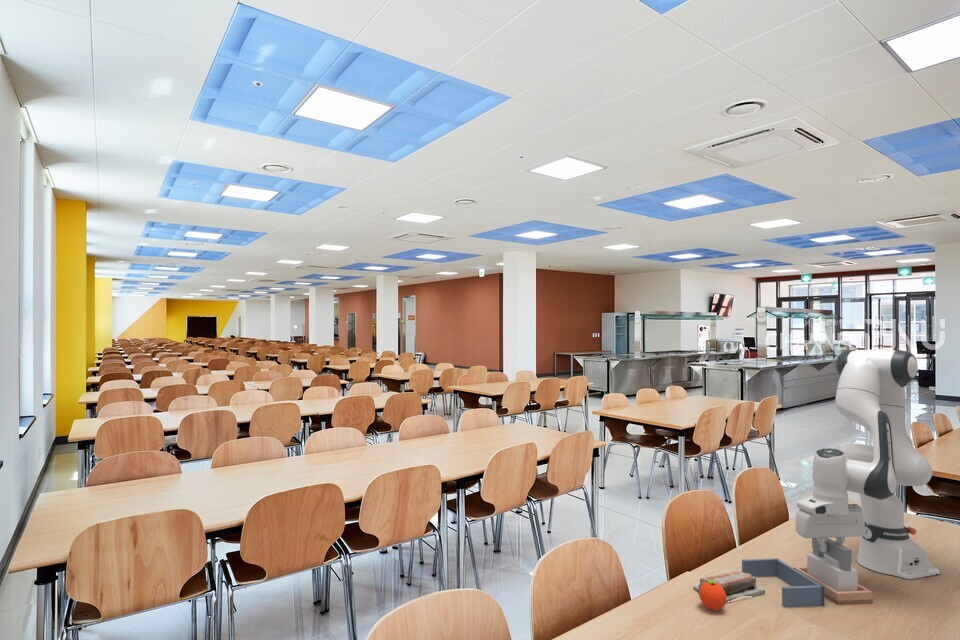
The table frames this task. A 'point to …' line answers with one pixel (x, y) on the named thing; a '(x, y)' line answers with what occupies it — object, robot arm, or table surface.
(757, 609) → the table surface
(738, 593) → the packaged product
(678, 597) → the table surface
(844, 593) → the terracotta tray
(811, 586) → the slate bay
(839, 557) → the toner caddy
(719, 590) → the clementine
